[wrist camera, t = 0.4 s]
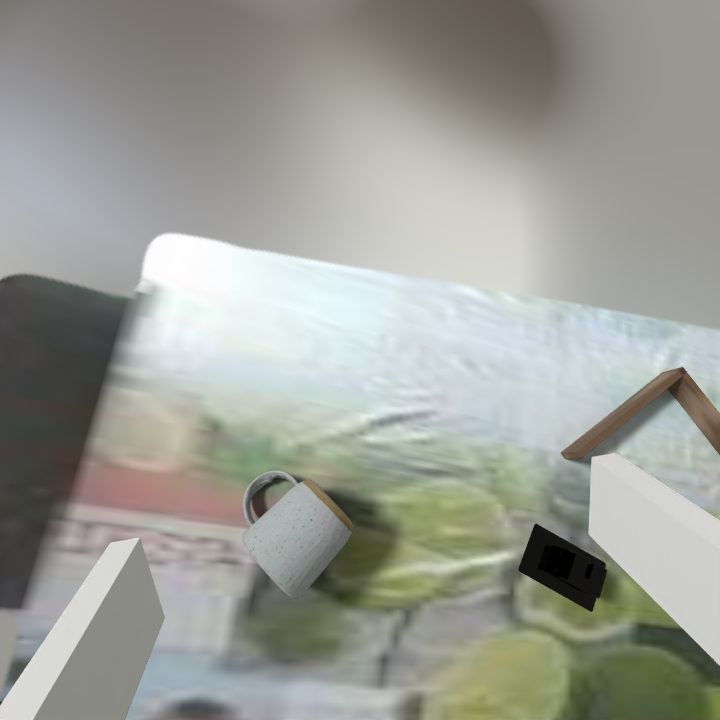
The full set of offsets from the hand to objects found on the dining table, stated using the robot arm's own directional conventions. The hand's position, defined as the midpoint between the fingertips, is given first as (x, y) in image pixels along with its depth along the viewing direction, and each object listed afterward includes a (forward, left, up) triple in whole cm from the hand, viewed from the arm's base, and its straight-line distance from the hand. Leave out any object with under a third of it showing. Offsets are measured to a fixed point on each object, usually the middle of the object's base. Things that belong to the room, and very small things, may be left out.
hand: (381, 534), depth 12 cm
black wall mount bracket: (-21, -18, -34) cm, 44 cm away
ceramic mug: (-1, +4, -33) cm, 33 cm away
